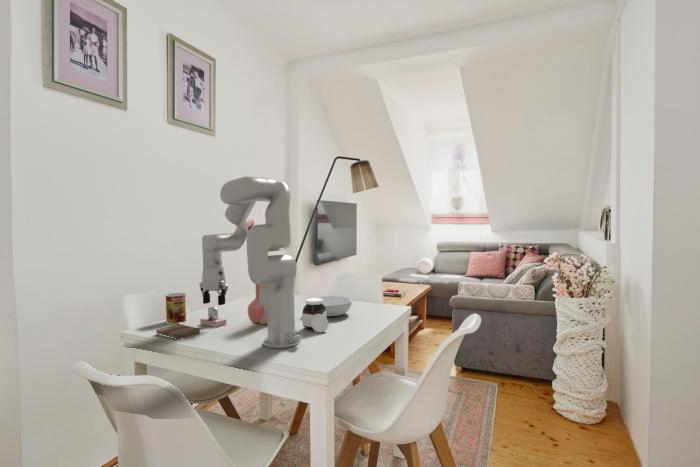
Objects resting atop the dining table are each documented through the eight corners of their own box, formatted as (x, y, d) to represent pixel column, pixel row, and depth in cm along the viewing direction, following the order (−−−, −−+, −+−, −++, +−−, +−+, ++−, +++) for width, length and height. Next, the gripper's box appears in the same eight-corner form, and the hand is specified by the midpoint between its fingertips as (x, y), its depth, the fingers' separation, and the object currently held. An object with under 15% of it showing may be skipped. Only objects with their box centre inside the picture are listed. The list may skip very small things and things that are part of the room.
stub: (226, 324, 164) (226, 307, 164) (215, 327, 160) (215, 310, 160) (211, 321, 170) (210, 305, 169) (200, 324, 165) (200, 307, 165)
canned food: (176, 324, 166) (175, 296, 165) (162, 323, 168) (161, 295, 168) (189, 320, 173) (189, 293, 173) (176, 318, 176) (175, 292, 175)
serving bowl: (297, 316, 178) (297, 301, 177) (326, 308, 195) (325, 294, 195) (333, 322, 166) (333, 306, 166) (360, 313, 183) (360, 298, 183)
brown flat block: (199, 333, 151) (199, 328, 151) (178, 340, 143) (178, 334, 143) (177, 329, 158) (177, 323, 158) (156, 334, 150) (156, 329, 150)
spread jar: (314, 324, 164) (314, 296, 163) (336, 327, 158) (336, 299, 157) (296, 331, 153) (296, 301, 153) (319, 335, 147) (319, 304, 147)
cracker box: (271, 325, 162) (270, 275, 162) (258, 324, 164) (257, 275, 163) (286, 317, 176) (285, 271, 175) (273, 316, 177) (273, 271, 177)
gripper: (233, 263, 162) (235, 303, 162) (206, 262, 172) (208, 301, 172) (218, 264, 156) (220, 307, 156) (191, 264, 165) (193, 304, 165)
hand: (214, 303), depth 164 cm, fingers open, 9 cm apart
